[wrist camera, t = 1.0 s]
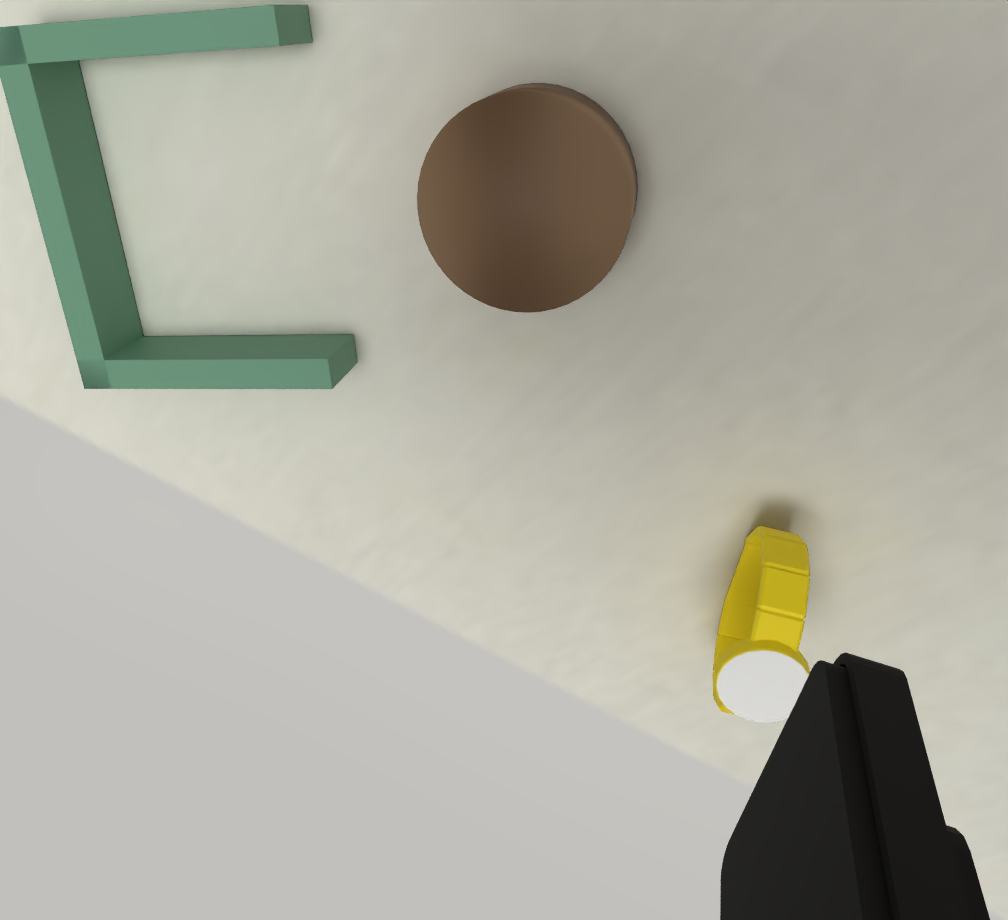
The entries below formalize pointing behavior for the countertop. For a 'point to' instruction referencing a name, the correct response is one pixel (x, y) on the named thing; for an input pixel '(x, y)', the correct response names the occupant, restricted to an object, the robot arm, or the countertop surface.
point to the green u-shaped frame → (90, 216)
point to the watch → (763, 629)
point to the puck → (528, 197)
